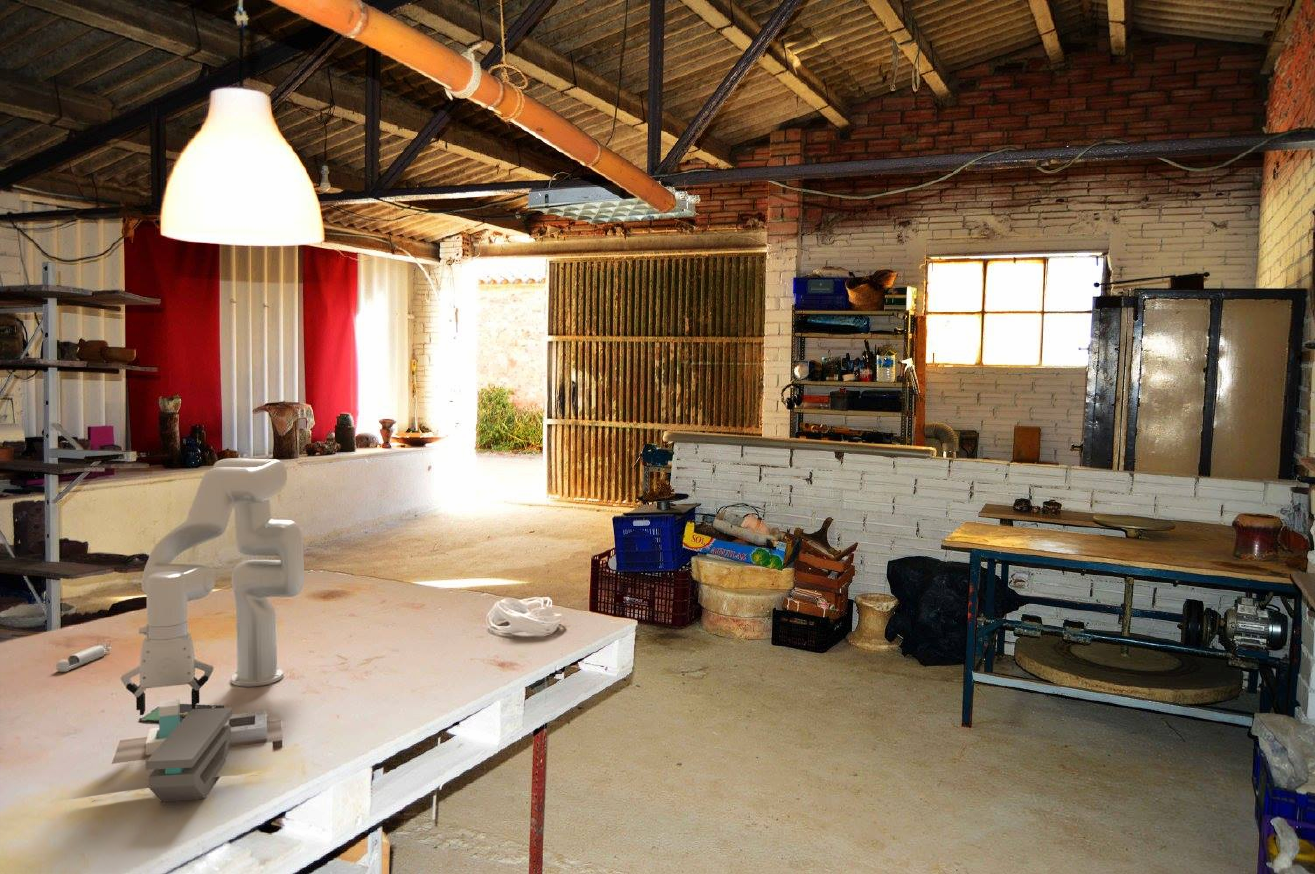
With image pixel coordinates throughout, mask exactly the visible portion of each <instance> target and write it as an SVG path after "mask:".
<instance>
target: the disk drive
mask: <svg viewBox="0 0 1315 874" xmlns="http://www.w3.org/2000/svg"><path fill="white" fill-rule="evenodd" d="M211 708H225V706H224V705H218V704H217V705H216V704H196V708H195V709H211ZM191 710H192V703H180V722H181V721H182V720H183V719H184V718H185V717H186V716H187V714H188V713H189V712H190V711H191ZM137 723H144V724H145V723H146V724H147V723H150V724H159V706H157V707H156V708H154V709H152V710H151V711H150V712H149V713H147V714H146V715H144V716H143V717H140V718H138V721H137Z"/></svg>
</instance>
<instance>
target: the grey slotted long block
mask: <svg viewBox="0 0 1315 874" xmlns="http://www.w3.org/2000/svg"><path fill="white" fill-rule="evenodd" d="M232 715H233V707H224V708H211V709H192V710H191V711H190V712H189V713H188V714H187V716H186V717H185V718H184V719H183V720H182V721H181V722H180V723H179V725H178V726H177V727H176V728H175V729H174V730H173V731H172V732H171V734H170V735H169V736H168V737H167V738H166V739H165V740H164V741H163V743H162V744H161V745H160V746H159V747H158V748H157V749H156V751H155V752H154V753H153V754H152V755H151V756H150V757H149V758H148V759H146V761H145V770H147V771H149V770H152V771H151V773H150V774H149V775H148V789H149V790H151V792H152V794H153V795H154V796H155V797H156V798H157V799H158V800H159V801H160V802H174V801H175V802H176V801H190V800H191V801H192V800H194V801H195V800H205V799H206V798H207V797H208V796H209V794H210V792H211V791H212V790H213V788H214V786H215V785H216V784H217V783H218V780H219V779H221V776H217V775H218V773H219V772H220V770H221V769H222V767H223V766H224V764H225V762H226V760H227V757H228V752H229V748H228V747H229V742H230V737H231V725H225V724H226V722H227V721H228V720H229V718H230V717H231V716H232Z"/></svg>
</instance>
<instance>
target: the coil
mask: <svg viewBox="0 0 1315 874" xmlns="http://www.w3.org/2000/svg"><path fill="white" fill-rule="evenodd" d="M545 602H546V605H545V604H544V603H545ZM538 604H540V606H538V607H534V608H533V609H531V610H530V606H531V607H532V606H533V605H538ZM549 604H550V605H549ZM553 606H554V605H553V600H552V599H551V598H550V597H549V596H543V597H541V596H534V597H527V598H524V599H520V600H519V599H517V598H514V597H506V598H504V599H501V600H500V601H499V600H497V601H495V602H494V605H493V606H492V607H491V609H490V610H489V611H488V613H487V615H486V618H485V620H486V621H485V622H486V625H487V627H488V628H489V629H490V630H492V631H493V632H496V633H500V634H518V633H528V634H532V635H536V636H542V637H544V636H550V635H552V634H553V633H555V631H556V630H557V629H558V627H559V626H560V623H562V622H563V621H564V617H563V614H561V613H556V612H553V611H552V609H553ZM488 621H489V623H488ZM504 621H507V622H508V624H509V625H506V626H505V625H503V626H502V625H501V626H500V625H497V623H499V622H504ZM489 624H490V626H491V627H490V626H489ZM546 629H548V630H546Z"/></svg>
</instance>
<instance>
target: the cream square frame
mask: <svg viewBox="0 0 1315 874" xmlns="http://www.w3.org/2000/svg"><path fill="white" fill-rule="evenodd" d="M146 737H147V741H146V755H150V754H153V753H154V752H155V751H156V749H157V748H158V747H159V746H160V745H161V744H162V743H163V741H164V740H165V739H166V738H163V739H159V727H153V728H152V727H151V728H149V730H148V734H147V736H146Z"/></svg>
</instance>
